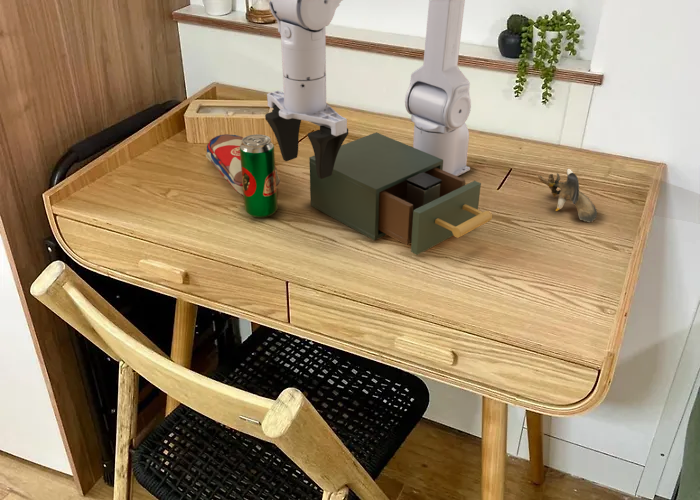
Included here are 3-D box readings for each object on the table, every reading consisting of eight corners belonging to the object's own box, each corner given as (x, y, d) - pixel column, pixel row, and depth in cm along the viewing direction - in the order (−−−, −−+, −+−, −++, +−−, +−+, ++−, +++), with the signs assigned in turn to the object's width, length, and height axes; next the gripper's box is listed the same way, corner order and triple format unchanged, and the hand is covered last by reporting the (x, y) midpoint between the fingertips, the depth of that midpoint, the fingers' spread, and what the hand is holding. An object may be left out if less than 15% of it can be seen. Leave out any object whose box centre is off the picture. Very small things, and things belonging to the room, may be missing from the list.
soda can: (272, 220, 108) (267, 148, 102) (240, 217, 109) (234, 145, 103) (281, 205, 113) (277, 134, 106) (251, 202, 113) (245, 131, 107)
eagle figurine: (526, 198, 112) (569, 213, 105) (545, 156, 112) (590, 168, 104) (556, 213, 117) (598, 228, 109) (574, 173, 116) (618, 185, 109)
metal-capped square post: (420, 210, 107) (423, 171, 104) (438, 219, 105) (441, 180, 102) (404, 218, 105) (406, 179, 102) (422, 227, 103) (425, 187, 100)
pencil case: (213, 207, 112) (210, 178, 109) (205, 155, 128) (202, 129, 125) (283, 199, 114) (281, 171, 112) (266, 150, 130) (264, 124, 128)
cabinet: (439, 208, 112) (443, 159, 107) (374, 240, 104) (376, 189, 99) (375, 178, 121) (376, 132, 116) (310, 205, 112) (309, 157, 108)
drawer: (502, 235, 103) (508, 194, 100) (443, 269, 96) (446, 226, 92) (410, 192, 115) (412, 154, 111) (350, 220, 107) (351, 180, 103)
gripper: (247, 67, 96) (253, 159, 103) (317, 95, 87) (319, 193, 94) (287, 56, 100) (291, 145, 107) (359, 82, 91) (358, 177, 98)
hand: (307, 167), depth 101 cm, fingers open, 7 cm apart
